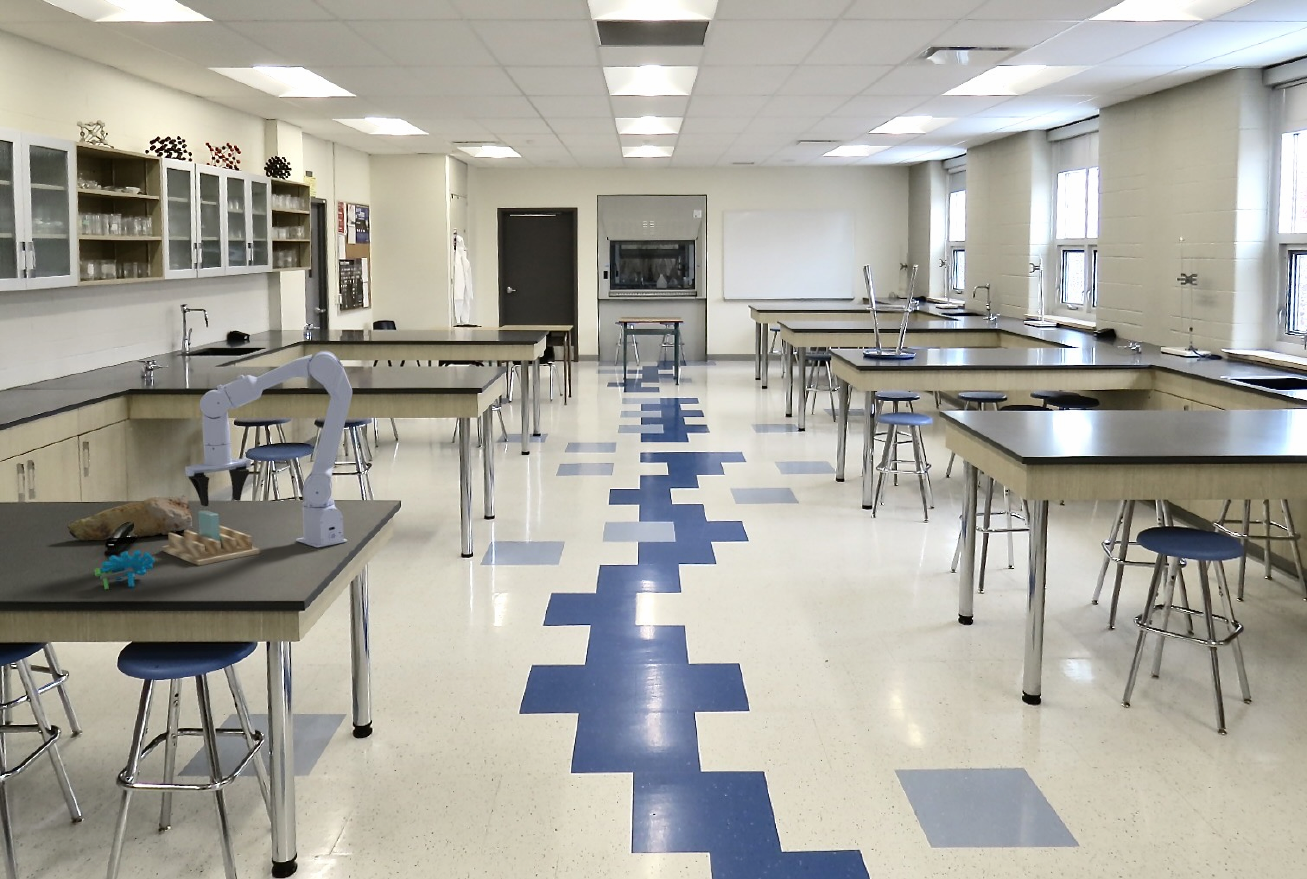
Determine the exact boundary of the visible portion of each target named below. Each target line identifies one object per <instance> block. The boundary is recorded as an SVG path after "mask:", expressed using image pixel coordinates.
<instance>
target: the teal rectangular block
mask: <svg viewBox="0 0 1307 879" xmlns="http://www.w3.org/2000/svg"><path fill="white" fill-rule="evenodd" d="M197 514H198V526H199V527H198V529H199V534H200V535H203V536H206V537H208V538H211V539H214V540H217V541H219V542H220V529H219V525H220V517H219V516H220V514H218V513H215V512H212V511H209V510H207V509H205V510H200V511H198V513H197Z"/></svg>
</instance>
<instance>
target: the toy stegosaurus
mask: <svg viewBox="0 0 1307 879" xmlns="http://www.w3.org/2000/svg"><path fill="white" fill-rule="evenodd" d="M132 553H133V556H131V555H129V552H128V551H127V550H125V551H123V552H120V557H118V556H116V555H111V556H109V561H106V560H105V561H102V564H101V566H102V567H101V568H100V567H97V568H95V569H94V575H95V577H99V579H100V581H101V582H103V586H104V590H106V589H108V590H109V589H110V586H109V581H110V580H115V581H117V582H118V581H122V580H123V579H124V578H123V577H127V582H128V587H129V588H130V587H131V588H135V587H136V586H135V580H134V579H135V578H136V577H135V574H137V575H139V576H141V577H142V576H144V575H145V574H147V572H146V571H147V570H148V571H149V570H150V571H151V570H153V568H154V566H153V564H155V563H156V561H155V558H154V557H153V556H152V555H151V553H150V552H147V551H146V552H144V553H143V554H142V552H141V550H138V549H137V550H133V552H132ZM141 555H142V556H141Z"/></svg>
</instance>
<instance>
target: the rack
mask: <svg viewBox="0 0 1307 879" xmlns="http://www.w3.org/2000/svg"><path fill="white" fill-rule="evenodd" d="M219 529H220V542H219V541H217V540H214V539H211V538H208V537H206V536H203V535H200V533H197V532H194V531H192V530H189V529H188V530H185V529H183V536H181V535H179V534H177V533H175V532H171V533H168V534H167V535H168V538H167V539H168V544H167V545H164V546H161V551H162V552H165V553H166V554H169V555H172V556H174V557H176V558H179V559H182V560H184V561H187V562H188V563H191V564H194V565H196V566H204V565H209V564H214V563H218V562H224V561H230V560H234V559H239V558H243V557H244V558H245V557H249V556H253V555H258V554H260V553H261V551H260V550H261V549H260V548H258V547H255V546H253V537H252V535H249V534H246V533H244V532H240V531H238V530H235V529H232V528H229V527H226V526H223V525H220V524H219Z"/></svg>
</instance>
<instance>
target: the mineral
mask: <svg viewBox="0 0 1307 879" xmlns="http://www.w3.org/2000/svg"><path fill="white" fill-rule="evenodd" d="M192 521H193V520H192V514H191V508H190V504H189V500H188V499H187V497H186V495H184V494H182V495H181V496H173V497H170V496H168V497H167V496H166V497H155V496H154V497H149V498H147V499H143V500H141V501H135V502H129V503H125V504H123V505H118V506H114V507H111V508H110V509H109V508H108V509H105V510H102V511H99V512H97V513H95V514H94V515H92V516H89V517H86V518H78V519H76V520H75V521H73V522H70V523H68V525H67V528H68V530H69V531H68V532H69V534H70V535H71V536H72V537H73V538H74V539H77V540H81V541H82V540H83V541H88V540H98V541H99V540H100V541H105V540H109V539H108V537H109V536H110V535H111V534H112V533H114V532H115V530H116V529H117V528H118V527H120V526H121V525H122V524H124V523H126V522H134V532H133V533H134V534H135V535H137V536H139V537H138V538H140V537H147V536H148V537H155V536H157V535H160V534H161V535H162V536H165V535H168V533H172V532H173V533H176V532H177V531H184V530H189V529H192V530H193V528H194V527H193V525H192Z"/></svg>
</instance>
